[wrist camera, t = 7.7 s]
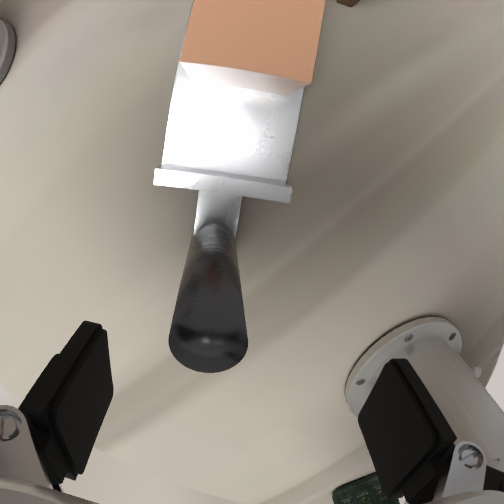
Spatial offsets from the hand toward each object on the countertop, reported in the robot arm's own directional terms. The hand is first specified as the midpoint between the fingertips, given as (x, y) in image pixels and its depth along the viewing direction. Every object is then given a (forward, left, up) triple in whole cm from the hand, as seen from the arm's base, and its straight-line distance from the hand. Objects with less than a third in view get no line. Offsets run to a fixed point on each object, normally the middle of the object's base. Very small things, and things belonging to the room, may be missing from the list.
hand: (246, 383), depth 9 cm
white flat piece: (+1, -8, -11) cm, 14 cm away
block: (+1, -12, -10) cm, 16 cm away
